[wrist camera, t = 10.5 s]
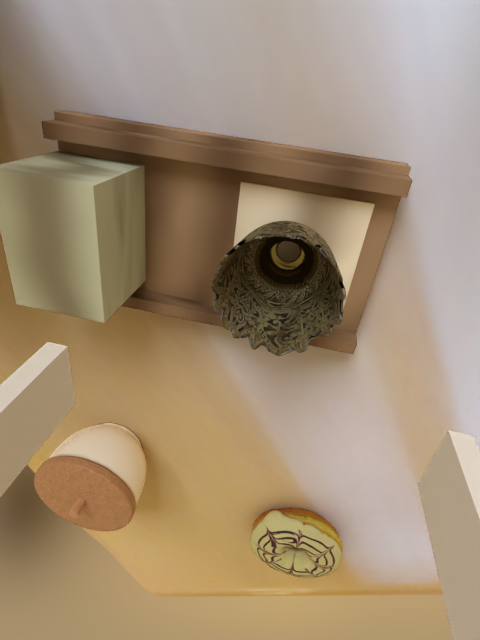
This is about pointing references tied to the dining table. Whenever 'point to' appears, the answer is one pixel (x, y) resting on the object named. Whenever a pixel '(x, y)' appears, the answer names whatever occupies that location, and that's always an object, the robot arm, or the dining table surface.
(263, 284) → the cup
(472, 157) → the dining table surface
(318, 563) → the decorated donut
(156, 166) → the brown wooden tray
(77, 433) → the lidded jar
